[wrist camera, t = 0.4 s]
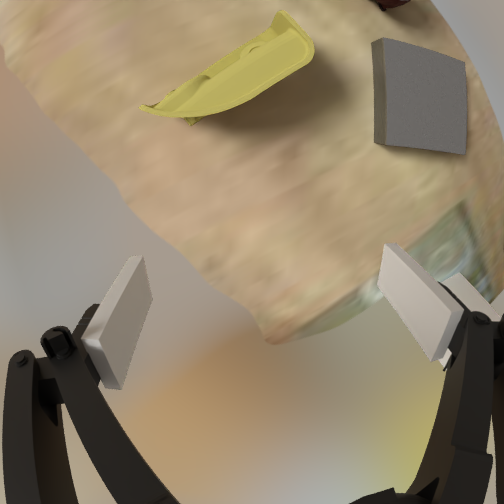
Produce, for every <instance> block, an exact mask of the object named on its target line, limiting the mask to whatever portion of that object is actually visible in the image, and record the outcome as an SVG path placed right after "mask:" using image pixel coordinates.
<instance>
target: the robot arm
mask: <svg viewBox="0 0 504 504" xmlns="http://www.w3.org/2000/svg"><path fill="white" fill-rule="evenodd" d="M377 286H378V288H379V289H380V290H381V292H382V293H383V294H384V296H385V297H386V298H387V300H388V301H389V302H390V304H391V305H392V307H393V308H394V309H395V311H396V312H397V313H398V315H399V316H400V317H401V319H402V320H403V322H404V323H405V325H406V326H407V328H408V329H409V330H410V332H411V333H412V335H413V336H414V338H415V339H416V341H417V342H418V344H419V345H420V347H421V348H422V350H423V351H424V353H425V354H426V356H427V357H428V359H429V360H430V361H435V360H439V359H442V358H443V357H444V355H445V353H446V351H447V349H449V350H450V352H451V355H450V357H449V359H448V361H447V363H446V365H445V367H444V369H443V371H445V370H446V369H447V371H446V377H445V381H444V387H443V391H442V395H441V399H440V404H439V407H438V411H437V415H436V419H435V422H434V426H433V429H432V433H431V436H430V439H429V442H428V445H427V448H426V451H425V454H424V457H423V460H422V462H421V465H420V468H419V470H418V473H417V475H416V478H415V480H414V481H413V483H412V485H411V486H410V488H409V489H408V490H407V492H406V493H395V491H394V488H390V489H387V490H384V491H381V492H377V493H374V494H371V495H367V496H364V497H362V498H360V499H358V500H356V501H354V502H352V503H350V504H483V503H484V499H485V495H486V492H487V488H488V483H489V478H490V474H491V469H492V464H493V456H492V454H487V452H486V449H487V443H488V437H489V430H490V421H491V414H492V422H493V430H494V441H495V455H496V456H495V458H496V497H497V504H504V314H503V316H502V318H501V320H500V321H491V319H490V318H489V317H488V316H487V315H486V314H484V313H482V312H479V311H472V312H471V311H470V310H469V309H468V308H467V307H466V306H465V305H464V303H463V302H462V301H461V300H460V299H459V298H457V296H456V295H455V294H454V293H452V291H451V290H450V289H449V288H448V287H447V286H445V285H443V284H442V283H440V282H437V281H436V280H435V279H434V278H433V277H432V276H431V275H430V274H429V273H428V272H427V271H426V270H425V269H424V268H423V267H421V266H420V265H419V264H418V263H417V262H416V261H415V260H414V259H413V258H412V257H411V256H410V255H409V254H408V253H406V252H405V251H404V250H403V249H402V248H401V247H400V246H399V245H398V244H397V243H385V245H384V251H383V257H382V262H381V268H380V273H379V278H378V283H377ZM151 302H152V294H151V290H150V285H149V281H148V276H147V271H146V267H145V262H144V257H143V256H130V257H129V259H128V260H127V262H126V263H125V265H124V266H123V268H122V270H121V271H120V273H119V274H118V276H117V278H116V279H115V281H114V282H113V284H112V286H111V287H110V289H109V290H108V292H107V294H106V295H105V297H104V299H103V300H102V302H101V304H93V305H92V306H91V307H90V308H88V309H87V310H86V311H85V313H84V315H83V316H82V319H81V320H80V321H79V323H78V325H77V326H76V328H75V330H74V331H73V333H72V334H71V332H70V330H69V329H68V328H67V327H64V326H57V327H53V328H51V329H49V330H47V331H46V332H45V333H44V334H43V335H42V338H41V345H42V347H43V349H44V351H45V353H46V354H47V356H48V357H43V358H35V356H34V354H33V353H32V352H31V351H29V350H21V351H19V352H17V353H15V354H14V355H13V356H12V358H11V359H10V361H9V365H8V372H7V379H6V388H5V398H4V410H3V434H2V438H3V439H2V450H3V474H4V485H5V495H6V503H7V504H79V503H78V500H77V496H76V492H75V488H74V484H73V479H72V475H71V470H70V465H69V460H68V455H67V448H66V442H65V436H64V428H63V420H62V410H61V404H63V403H65V405H66V408H67V410H68V412H69V415H70V417H71V420H72V422H73V424H74V426H75V428H76V431H77V433H78V435H79V437H80V439H81V441H82V443H83V445H84V447H85V449H86V451H87V453H88V455H89V457H90V459H91V461H92V463H93V464H94V466H95V468H96V470H97V472H98V473H99V475H100V477H101V478H102V480H103V482H104V483H105V485H106V487H107V488H108V490H109V492H110V493H111V494H112V496H113V498H114V499H115V501H116V502H117V504H180V503H179V502H178V501H177V499H176V498H175V497H174V496H173V495H172V494H171V493H170V491H169V490H168V489H167V488H166V487H165V486H164V484H163V483H162V482H161V481H160V479H159V478H158V477H157V476H156V474H155V473H154V472H153V470H152V469H151V468H150V467H149V465H148V464H147V463H146V461H145V460H144V459H143V457H142V456H141V454H140V453H139V452H138V450H137V449H136V447H135V446H134V445H133V443H132V442H131V440H130V439H129V437H128V436H127V434H126V433H125V431H124V430H123V428H122V427H121V425H120V423H119V422H118V420H117V419H116V417H115V416H114V414H113V412H112V410H111V409H110V407H109V406H108V404H107V402H106V400H105V399H104V397H103V395H102V393H101V391H100V390H99V388H98V384H99V382H100V379H101V381H102V383H103V385H104V387H105V388H108V389H118V390H121V389H122V387H123V384H124V381H125V378H126V375H127V371H128V368H129V365H130V362H131V359H132V356H133V353H134V350H135V347H136V344H137V341H138V338H139V335H140V332H141V330H142V327H143V324H144V321H145V318H146V316H147V313H148V310H149V308H150V305H151Z"/></svg>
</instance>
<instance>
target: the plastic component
mask: <svg viewBox="0 0 504 504" xmlns="http://www.w3.org/2000/svg"><path fill="white" fill-rule="evenodd" d="M314 51H315V48H314V43H313V41H312V39H311V38H310V37H309V36H308V35H307V33H306V32H305V31H304V30H303V29H302V28H301V27H300V26H299V25H298V24H297V23H296V21H295V20H294V19H293V18H292V17H291V16H290V15H289V14H288V13H287V12H286V11H284V10H280V11H279V12H277V13H276V15H275V17H274V20H273V22H272V24H271V26H270V27H269V28H268V29H267V30H266V31H265V32H263V33H262V34H260V35H259V36H257V37H255V38H254V39H252V40H250V41H249V42H247V43H245V44H244V45H242V46H241V47H239V48H237V49H236V50H234V51H233V52H231V53H230V54H228V55H226V56H225V57H223V58H222V59H220V60H219V61H217V62H216V63H215V64H213V65H212V66H210V67H209V68H207V69H206V70H205V71H203V72H202V73H200V74H199V75H198V76H196V77H194V78H192V79H190V80H189V81H187V82H186V83H184V84H183V85H181V86H180V87H179V88H177V89H176V90H173V91H171V92H170V93H169V94H168V95H166V97H165V99H164V100H163V101H161V102H159V103H157V104H155V105H152V106H147V105H143V104H142V105H141V106H140V107H139V109H140V110H143V111H145V112H148V113H151V114H155V115H159V116H165V117H179V118H184V119H185V121H186V122H187V123H188V124H189V125H190V126H192V125H194V124H195V123H196V122H198V121H200V120H201V119H202V118H203V117H205V116H206V115H211V114H215V113H219V112H223V111H226V110H229V109H231V108H234V107H236V106H238V105H241V104H243V103H245V102H247V101H249V100H251V99H252V98H254V97H256V96H257V95H259V94H260V93H262V92H263V91H265V90H266V89H268V88H269V87H271V86H272V85H274V84H276V83H277V82H279V81H280V80H282V79H284V78H285V77H287V76H288V75H290V74H292V73H293V72H295V71H297V70H298V69H300V68H302V67H304V66H305V65H307V64H308V63H309V62H310V61H311V60H312V58H313V56H314Z"/></svg>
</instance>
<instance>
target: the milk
mask: <svg viewBox="0 0 504 504" xmlns="http://www.w3.org/2000/svg"><path fill="white" fill-rule="evenodd" d="M441 283H442V284H443V285H445V286H447V287H448V288H449V289H450V290H451V291H452V293H454V294H455V295H456V296H457V298H459V299H460V300H461V301H462V302H463V303H464V305H465V306H466V307H467V308H468V309H469V310H470V311H471V312H472V311H479V312H482V313H484V314H486V315H487V316H488V317H489V318H490V319H491V321H500V320H501V317H500V316H499V314H498V313H497V312H496V311H495V310H494V309H493V308H492V306H491V305H490V304H489V303H488V302H487V301H486V300H485V299H484V298H483V296H482V295H481V294H480V293H479V292H478V291H477V290H476V289H475V288H474V287H473V286H472V285H471V284H470V283H469V282H468V281H467V279H466V278H465V277H464V276H463V275H462V274H461V273H458V274H456V275H454V276H452V277H450V278H448V279H446V280H444V281H443V282H441ZM450 355H451V352H450V350H449V349H447V351H446V353H445V355H444V357H443V358H442V359H439V361H440V363H441V364H442V365H443V367H445V365H446V363H447V361H448V359H449V357H450ZM446 371H447V369H446Z"/></svg>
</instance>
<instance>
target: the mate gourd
mask: <svg viewBox="0 0 504 504" xmlns="http://www.w3.org/2000/svg"><path fill="white" fill-rule="evenodd" d="M376 1H377V2H378V5H379V7H380V9H381V11H385V10H386V8H394V7H397V6H401V5H404V4H405V3H407V2H409V1H410V0H376Z"/></svg>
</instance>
